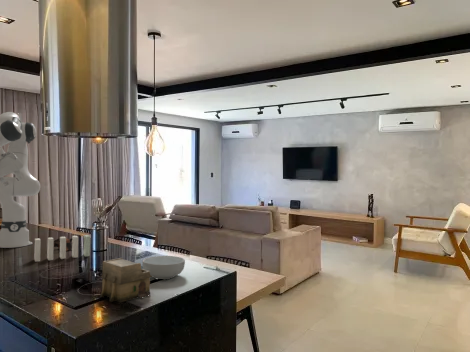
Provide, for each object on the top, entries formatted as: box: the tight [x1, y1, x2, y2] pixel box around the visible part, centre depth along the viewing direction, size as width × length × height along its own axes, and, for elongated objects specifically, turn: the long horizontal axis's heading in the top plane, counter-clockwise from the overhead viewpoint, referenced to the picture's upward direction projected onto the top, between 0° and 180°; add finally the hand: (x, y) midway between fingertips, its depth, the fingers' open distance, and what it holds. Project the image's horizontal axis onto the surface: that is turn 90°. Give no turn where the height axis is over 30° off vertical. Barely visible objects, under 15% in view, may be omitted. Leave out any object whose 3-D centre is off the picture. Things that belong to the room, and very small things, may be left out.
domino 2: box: [46, 237, 55, 261], centre depth 172 cm, size 2×5×10 cm, turn 34°
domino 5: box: [82, 234, 91, 258], centre depth 181 cm, size 2×5×10 cm, turn 34°
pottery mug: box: [53, 237, 72, 252], centre depth 194 cm, size 12×10×8 cm
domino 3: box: [59, 236, 67, 260], centre depth 175 cm, size 2×5×10 cm, turn 34°
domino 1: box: [33, 237, 42, 262], centre depth 168 cm, size 2×5×10 cm, turn 34°
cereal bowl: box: [142, 255, 186, 280], centre depth 143 cm, size 17×17×7 cm
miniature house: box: [99, 257, 153, 304], centre depth 121 cm, size 15×14×11 cm
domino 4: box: [71, 235, 79, 259], centre depth 178 cm, size 2×5×10 cm, turn 34°
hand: (13, 182), depth 170 cm, fingers open, 8 cm apart
